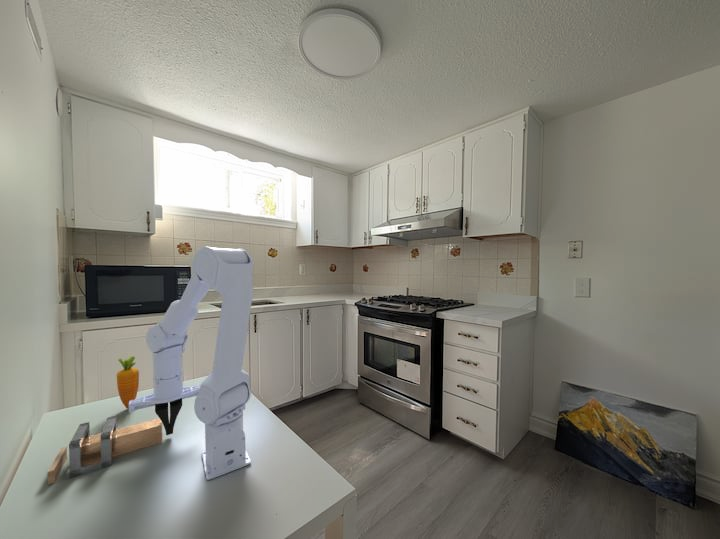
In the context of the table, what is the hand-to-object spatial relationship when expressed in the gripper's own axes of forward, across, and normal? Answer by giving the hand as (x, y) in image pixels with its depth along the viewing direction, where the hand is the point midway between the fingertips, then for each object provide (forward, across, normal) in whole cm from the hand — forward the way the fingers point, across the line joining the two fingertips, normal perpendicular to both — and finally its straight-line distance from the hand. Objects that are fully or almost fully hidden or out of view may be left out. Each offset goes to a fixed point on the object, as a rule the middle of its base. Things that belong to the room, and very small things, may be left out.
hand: (169, 432), depth 67 cm
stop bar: (+1, +18, 0) cm, 18 cm away
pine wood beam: (+1, +8, -1) cm, 9 cm away
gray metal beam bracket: (+1, +14, 0) cm, 14 cm away
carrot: (+1, +10, -23) cm, 25 cm away
